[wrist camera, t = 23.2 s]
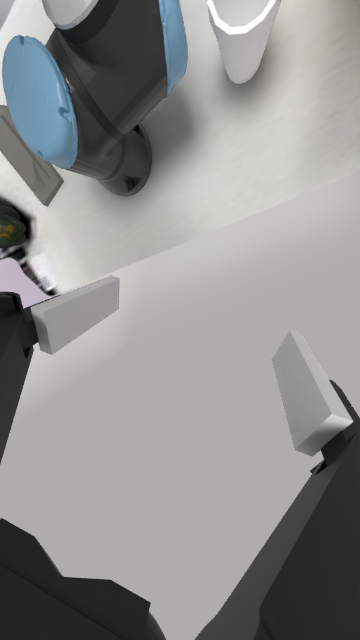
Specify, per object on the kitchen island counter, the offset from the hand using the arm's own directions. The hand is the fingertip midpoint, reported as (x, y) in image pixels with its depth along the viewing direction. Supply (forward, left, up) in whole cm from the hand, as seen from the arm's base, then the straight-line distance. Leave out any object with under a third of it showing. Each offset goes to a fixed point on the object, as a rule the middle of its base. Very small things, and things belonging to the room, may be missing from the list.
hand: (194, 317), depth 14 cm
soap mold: (-58, +11, -40) cm, 71 cm away
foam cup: (-7, +32, -39) cm, 51 cm away
